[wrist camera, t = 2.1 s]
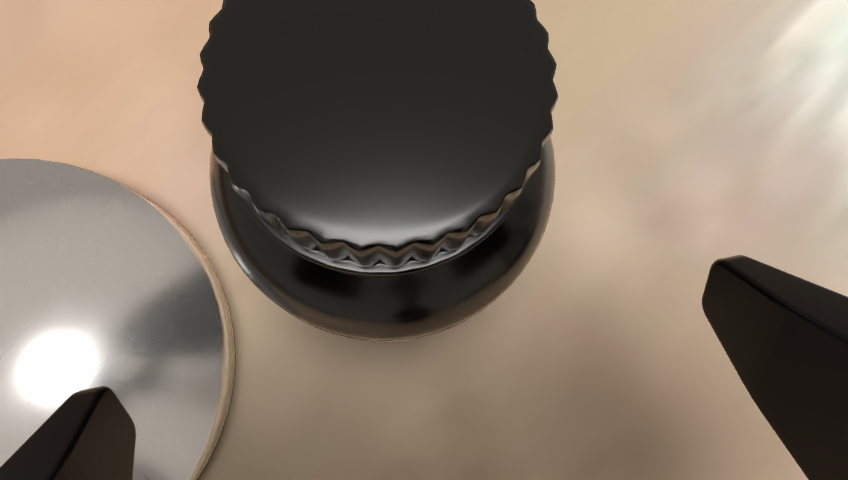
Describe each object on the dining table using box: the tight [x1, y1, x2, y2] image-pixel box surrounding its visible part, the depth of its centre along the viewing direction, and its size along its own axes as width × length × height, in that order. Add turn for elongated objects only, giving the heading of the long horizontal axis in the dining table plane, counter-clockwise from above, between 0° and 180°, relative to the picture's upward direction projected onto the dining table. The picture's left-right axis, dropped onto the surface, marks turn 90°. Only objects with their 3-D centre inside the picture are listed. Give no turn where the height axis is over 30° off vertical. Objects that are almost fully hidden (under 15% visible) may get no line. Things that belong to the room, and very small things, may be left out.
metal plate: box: [0, 159, 235, 480], centre depth 17 cm, size 13×13×2 cm
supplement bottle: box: [197, 0, 558, 342], centre depth 13 cm, size 7×7×12 cm
